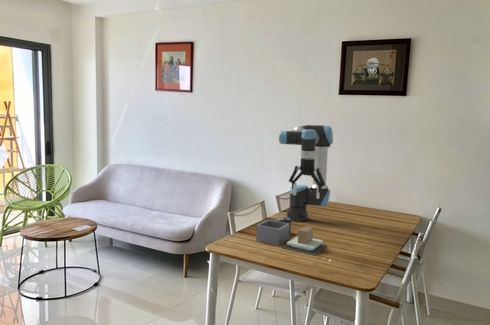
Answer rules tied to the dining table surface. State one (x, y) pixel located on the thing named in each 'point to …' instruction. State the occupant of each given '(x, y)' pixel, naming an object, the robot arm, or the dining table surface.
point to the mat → (306, 250)
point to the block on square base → (305, 240)
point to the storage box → (272, 232)
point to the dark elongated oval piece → (285, 221)
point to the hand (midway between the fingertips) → (306, 196)
